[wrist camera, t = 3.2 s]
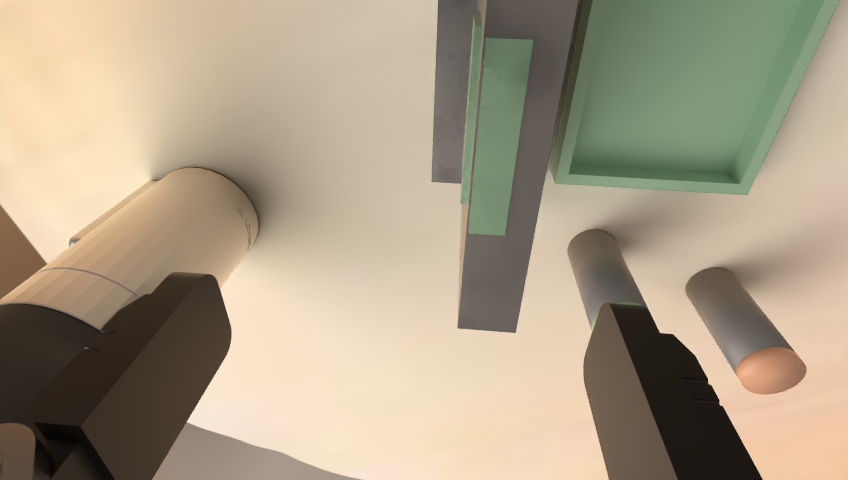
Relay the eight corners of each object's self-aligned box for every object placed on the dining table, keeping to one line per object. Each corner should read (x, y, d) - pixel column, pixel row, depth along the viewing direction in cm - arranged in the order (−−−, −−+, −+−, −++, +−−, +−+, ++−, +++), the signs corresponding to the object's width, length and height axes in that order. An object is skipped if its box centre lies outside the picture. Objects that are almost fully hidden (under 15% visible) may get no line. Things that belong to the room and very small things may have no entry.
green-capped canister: (563, 266, 40) (587, 350, 32) (572, 228, 38) (601, 307, 29) (609, 269, 40) (646, 354, 31) (621, 231, 38) (664, 312, 29)
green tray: (550, 169, 35) (555, 183, 33) (589, -35, 28) (599, -33, 25) (730, 179, 34) (747, 195, 32) (821, -28, 27) (851, -25, 25)
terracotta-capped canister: (679, 301, 41) (732, 391, 33) (694, 266, 39) (756, 353, 30) (724, 304, 41) (789, 396, 32) (742, 269, 38) (817, 358, 30)
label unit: (432, 187, 37) (409, 327, 23) (443, -125, 26) (413, -203, 12) (530, 193, 36) (565, 339, 23) (585, -123, 25) (714, -200, 12)
